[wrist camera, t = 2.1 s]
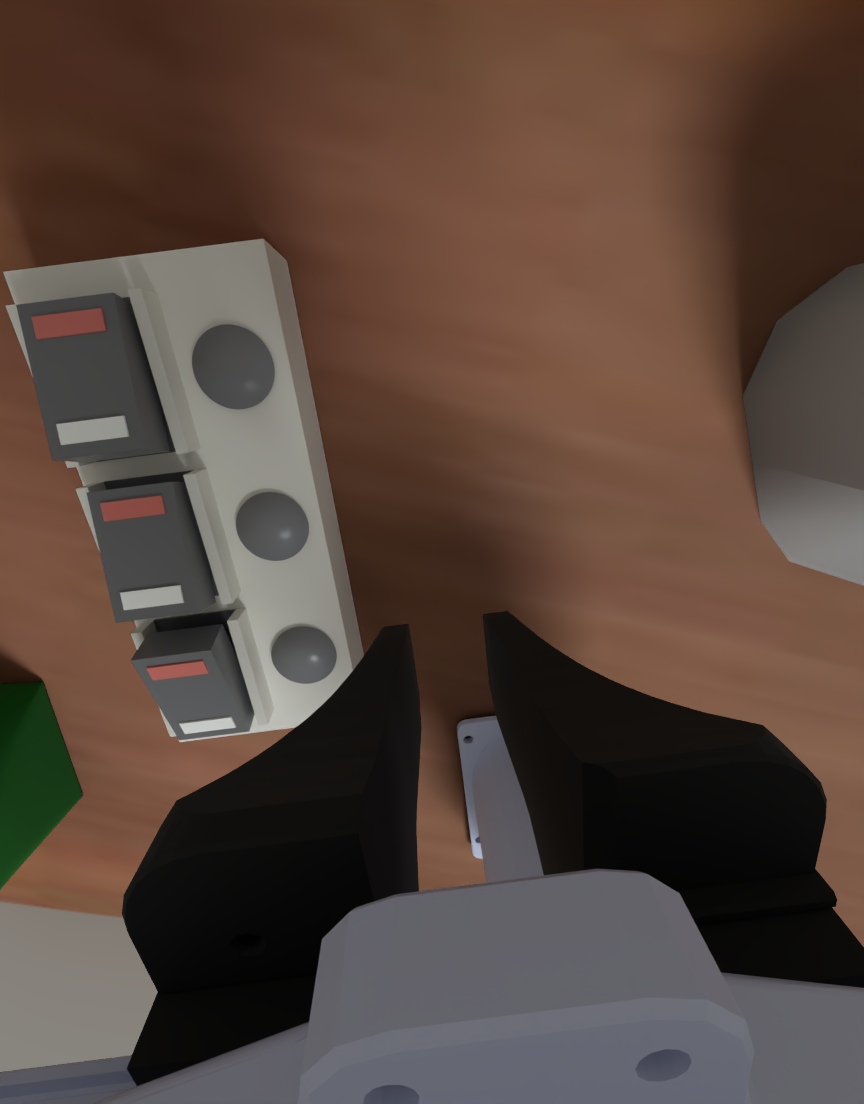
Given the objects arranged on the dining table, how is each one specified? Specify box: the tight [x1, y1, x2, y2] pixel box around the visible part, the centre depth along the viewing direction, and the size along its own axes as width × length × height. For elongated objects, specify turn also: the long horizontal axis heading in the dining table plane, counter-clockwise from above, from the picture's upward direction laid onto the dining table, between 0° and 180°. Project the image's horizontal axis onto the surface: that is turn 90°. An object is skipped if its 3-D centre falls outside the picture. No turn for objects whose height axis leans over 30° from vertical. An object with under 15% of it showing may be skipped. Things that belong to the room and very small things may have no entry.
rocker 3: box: [131, 624, 255, 740], centre depth 19 cm, size 4×3×2 cm, turn 7°
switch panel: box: [3, 239, 364, 742], centre depth 19 cm, size 22×8×4 cm, turn 7°
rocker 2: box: [86, 482, 216, 623], centre depth 17 cm, size 4×3×2 cm, turn 7°
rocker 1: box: [16, 293, 170, 462], centre depth 15 cm, size 4×3×2 cm, turn 7°
